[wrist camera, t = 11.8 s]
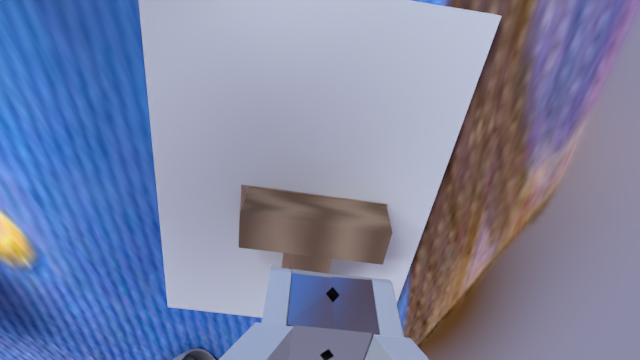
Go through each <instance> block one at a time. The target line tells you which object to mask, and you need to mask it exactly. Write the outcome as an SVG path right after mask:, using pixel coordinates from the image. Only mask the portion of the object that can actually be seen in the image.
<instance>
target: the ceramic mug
mask: <svg viewBox="0 0 640 360" xmlns="http://www.w3.org/2000/svg"><path fill="white" fill-rule="evenodd" d="M172 360H216V359H215V358H214V357H213V356H212V355H211V354H210V353H209V352H208V351H206V350H204V349H201V348H193V349H190V350H188V351H186V352H184V353H182V354H181V355H179V356H177V357H175V358H173V359H172Z"/></svg>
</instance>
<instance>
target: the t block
mask: <svg viewBox="0 0 640 360" xmlns="http://www.w3.org/2000/svg"><path fill="white" fill-rule="evenodd" d="M392 233H393V232H392V228H391V224H390V220H389V216H388V211H387V207H386V205H383V204H375V203H367V202H359V201H352V200H344V199H336V198H328V197H320V196H312V195H304V194H297V193H289V192H281V191H273V190H265V189H257V188H249V189H248V192H247V195H246V197H245V200H244V203H243V206H242V208H241V211H240V218H239V248H247V249H255V250H263V251H272V252H280V253H289V254H291V256H290V263H289V269H291V270H292V269H297V270H304V271H311V272H319V273H326V274H329V271H330V266H331V261H332V259H339V260H348V261H356V262H364V263H373V264H381V265H383V262H384V259H385V256H386V252H387V249H388V246H389V243H390V239H391V236H392Z"/></svg>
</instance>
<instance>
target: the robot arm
mask: <svg viewBox="0 0 640 360" xmlns="http://www.w3.org/2000/svg"><path fill="white" fill-rule="evenodd" d="M219 360H429V359H428V358H427V357H426V355H425V354H424V353H423V352H422V351H421V350H420V348H419V347H418V346H417V345H416V344H415V343H414V342H413V341H412V339H411V338H406V337H404V334H403V330H402V325H401V321H400V316H399V312H398V307H397V303H396V298H395V294H394V289H393V285H392V282H391V281H390V280H387V279H377V278H367V277H357V276H348V275H338V274H326V273H319V272H311V271H304V270H297V269H292V270H291V269H286V268H279V267H271V270H270V274H269V280H268V286H267V292H266V298H265V304H264V310H263V316H262V323H254V324H253V325H252V326H251V327H250V328H249V329H248V330H247V331H246V332H245V333H244V334H243V335H242V336H241V337H240V338H239V339H238V340H237V341H236V342H235V343H234V344H233V345H232V346H231V348H230V349H229V350H228V351H227V352H226V353H225V354H224V355H223V356H222V357H221V358H220V359H219Z"/></svg>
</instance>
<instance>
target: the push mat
mask: <svg viewBox="0 0 640 360" xmlns="http://www.w3.org/2000/svg"><path fill="white" fill-rule="evenodd" d="M138 1H139V11H140V22H141V32H142V43H143V53H144V64H145V74H146V85H147V95H148V105H149V116H150V126H151V137H152V147H153V158H154V168H155V179H156V189H157V200H158V210H159V221H160V231H161V242H162V252H163V262H164V273H165V283H166V294H167V304H168V307H172V308H180V309H189V310H198V311H207V312H216V313H224V314H233V315H242V316H251V317H260V318H262V316H263V310H264V304H265V298H266V292H267V286H268V280H269V274H270V270H271V267H279V268H286V269H289V263H290V256H291V254H289V253H280V252H272V251H263V250H255V249H247V248H239V218H240V211H241V208H242V206H243V203H244V200H245V197H246V195H247V192H248V189H249V188H257V189H265V190H273V191H281V192H289V193H297V194H304V195H312V196H320V197H328V198H336V199H344V200H352V201H359V202H367V203H375V204H383V205H386V207H387V211H388V216H389V220H390V224H391V228H392V232H393V233H392V236H391V239H390V243H389V246H388V249H387V252H386V256H385V259H384V262H383V265H381V264H373V263H364V262H356V261H348V260H339V259H332V261H331V266H330V271H329V274H338V275H348V276H357V277H367V278H377V279H387V280H390V281H391V282H392V285H393V289H394V294H395V298H396V303H397V302H398V299H399V296H400V294H401V291H402V288H403V285H404V283H405V280H406V277H407V274H408V272H409V269H410V266H411V264H412V261H413V258H414V255H415V253H416V250H417V247H418V244H419V242H420V239H421V236H422V233H423V231H424V228H425V225H426V222H427V220H428V217H429V214H430V211H431V209H432V206H433V203H434V200H435V198H436V195H437V192H438V189H439V187H440V184H441V181H442V178H443V176H444V173H445V170H446V168H447V165H448V162H449V159H450V157H451V154H452V151H453V148H454V146H455V143H456V140H457V137H458V135H459V132H460V129H461V126H462V124H463V121H464V118H465V115H466V113H467V110H468V107H469V104H470V102H471V99H472V96H473V93H474V91H475V88H476V85H477V82H478V80H479V77H480V74H481V72H482V69H483V66H484V63H485V61H486V58H487V55H488V52H489V50H490V47H491V44H492V41H493V39H494V36H495V33H496V30H497V28H498V25H499V22H500V19H501V17H502V16H500V15H497V14H490V13H484V12H478V11H472V10H466V9H460V8H454V7H448V6H442V5H436V4H430V3H424V2H418V1H412V0H138Z"/></svg>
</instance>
